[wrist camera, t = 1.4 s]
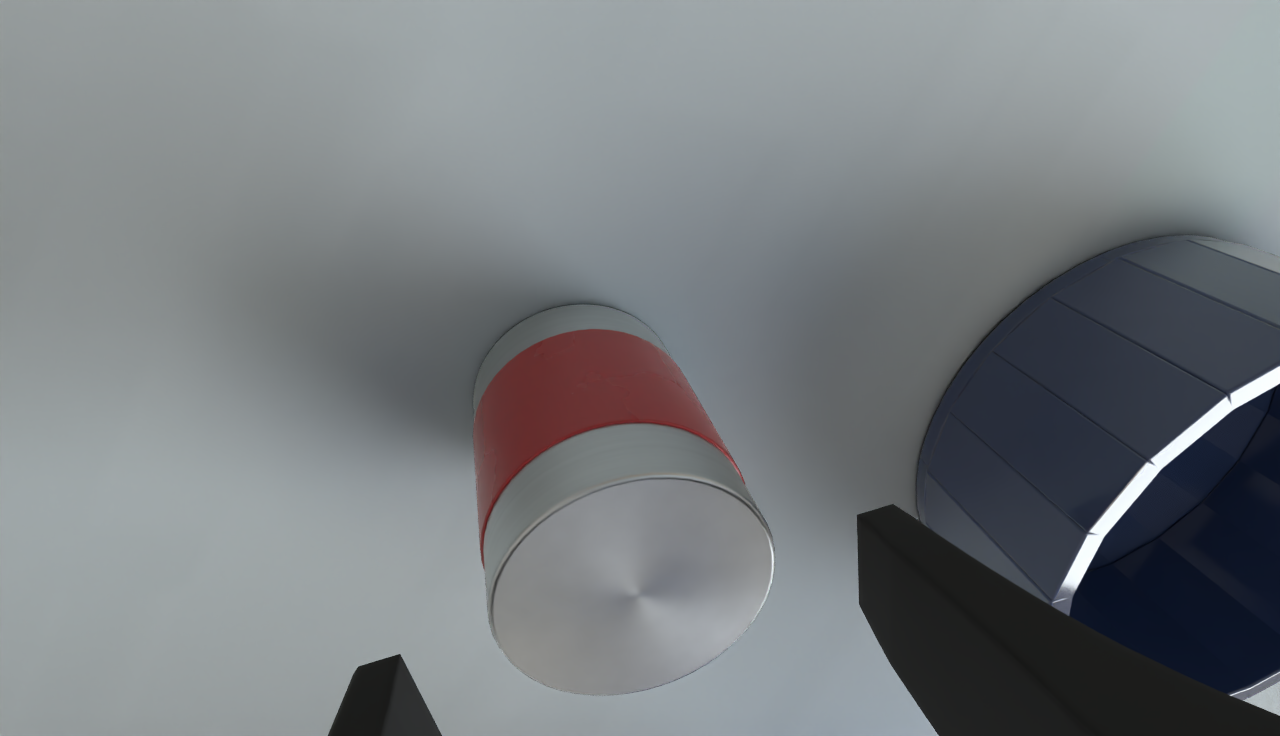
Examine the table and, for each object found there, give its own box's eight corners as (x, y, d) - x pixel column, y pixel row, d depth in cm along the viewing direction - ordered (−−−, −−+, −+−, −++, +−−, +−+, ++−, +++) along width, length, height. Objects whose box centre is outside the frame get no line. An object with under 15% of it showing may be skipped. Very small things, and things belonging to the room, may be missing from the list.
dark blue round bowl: (1228, 522, 26) (1401, 645, 21) (911, 625, 25) (1021, 780, 20) (1334, 186, 20) (1610, 255, 15) (919, 299, 19) (1082, 413, 14)
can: (688, 449, 19) (789, 649, 14) (502, 502, 19) (527, 733, 13) (659, 277, 17) (767, 434, 11) (443, 332, 16) (444, 526, 11)
